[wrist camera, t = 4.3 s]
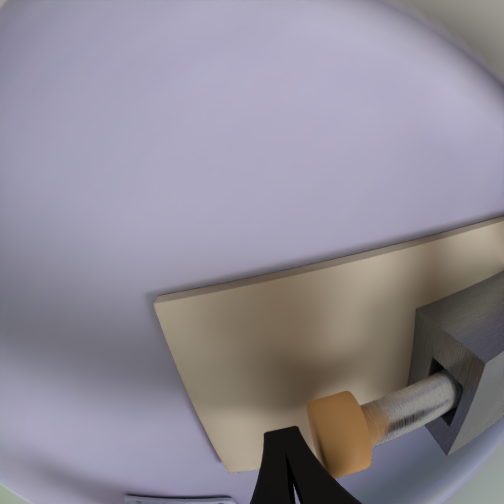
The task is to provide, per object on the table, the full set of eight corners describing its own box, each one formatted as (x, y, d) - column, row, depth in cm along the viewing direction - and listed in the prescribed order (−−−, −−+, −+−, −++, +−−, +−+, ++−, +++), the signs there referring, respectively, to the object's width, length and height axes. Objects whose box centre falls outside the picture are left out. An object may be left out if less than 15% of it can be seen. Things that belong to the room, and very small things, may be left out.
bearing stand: (227, 463, 14) (231, 539, 8) (157, 296, 11) (107, 387, 5) (500, 359, 15) (542, 394, 9) (523, 210, 12) (587, 226, 6)
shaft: (309, 435, 11) (328, 493, 8) (303, 384, 10) (328, 451, 7) (505, 344, 12) (539, 370, 8) (516, 293, 11) (557, 316, 7)
